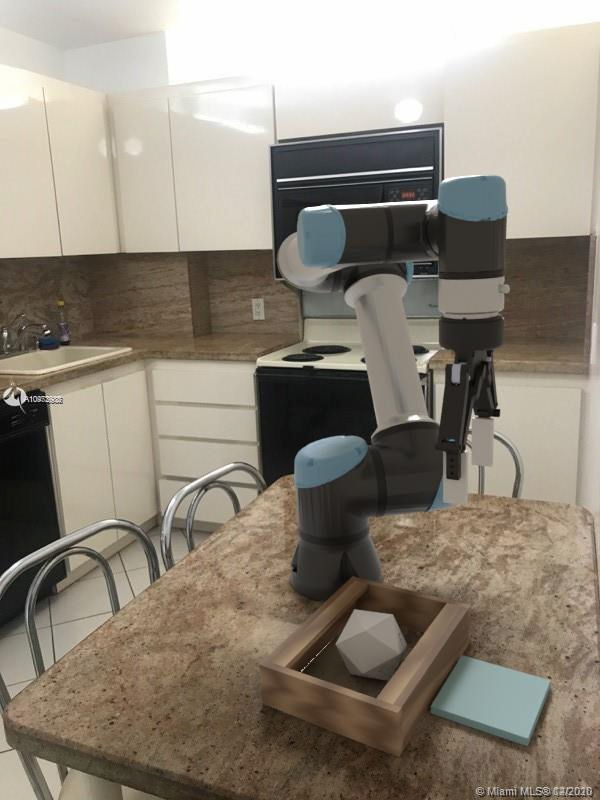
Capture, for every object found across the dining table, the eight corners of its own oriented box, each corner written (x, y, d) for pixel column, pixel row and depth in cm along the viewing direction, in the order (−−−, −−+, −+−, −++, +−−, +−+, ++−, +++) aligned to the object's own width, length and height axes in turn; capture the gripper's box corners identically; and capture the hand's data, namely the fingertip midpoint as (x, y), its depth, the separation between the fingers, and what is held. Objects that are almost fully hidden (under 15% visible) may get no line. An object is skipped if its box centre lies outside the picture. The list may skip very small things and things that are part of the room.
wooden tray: (262, 704, 81) (259, 664, 79) (354, 609, 100) (352, 576, 99) (399, 757, 71) (397, 713, 70) (470, 641, 91) (470, 604, 89)
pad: (431, 713, 77) (430, 706, 77) (462, 661, 86) (462, 655, 86) (527, 746, 71) (527, 738, 71) (550, 687, 80) (550, 680, 80)
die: (370, 708, 80) (415, 643, 79) (315, 659, 83) (357, 597, 82) (384, 689, 87) (425, 630, 87) (333, 645, 90) (373, 588, 90)
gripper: (478, 330, 66) (476, 527, 71) (523, 301, 87) (518, 454, 92) (405, 329, 69) (408, 517, 74) (465, 301, 90) (465, 449, 96)
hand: (469, 482), depth 83 cm, fingers open, 13 cm apart
